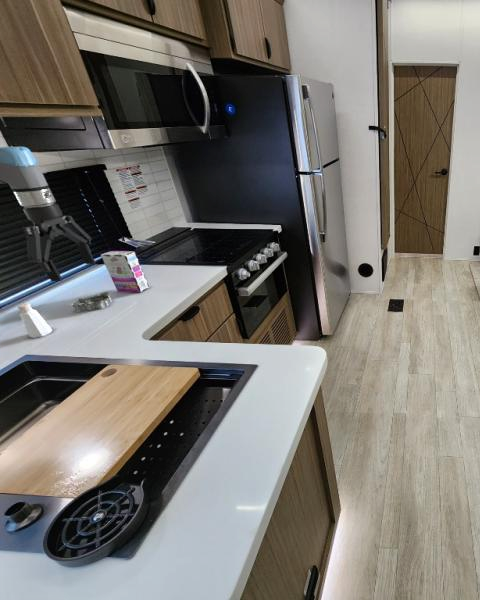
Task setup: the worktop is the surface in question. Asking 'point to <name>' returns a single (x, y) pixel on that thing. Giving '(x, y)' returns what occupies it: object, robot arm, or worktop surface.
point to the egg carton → (92, 302)
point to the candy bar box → (125, 271)
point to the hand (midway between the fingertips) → (74, 271)
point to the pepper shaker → (33, 321)
